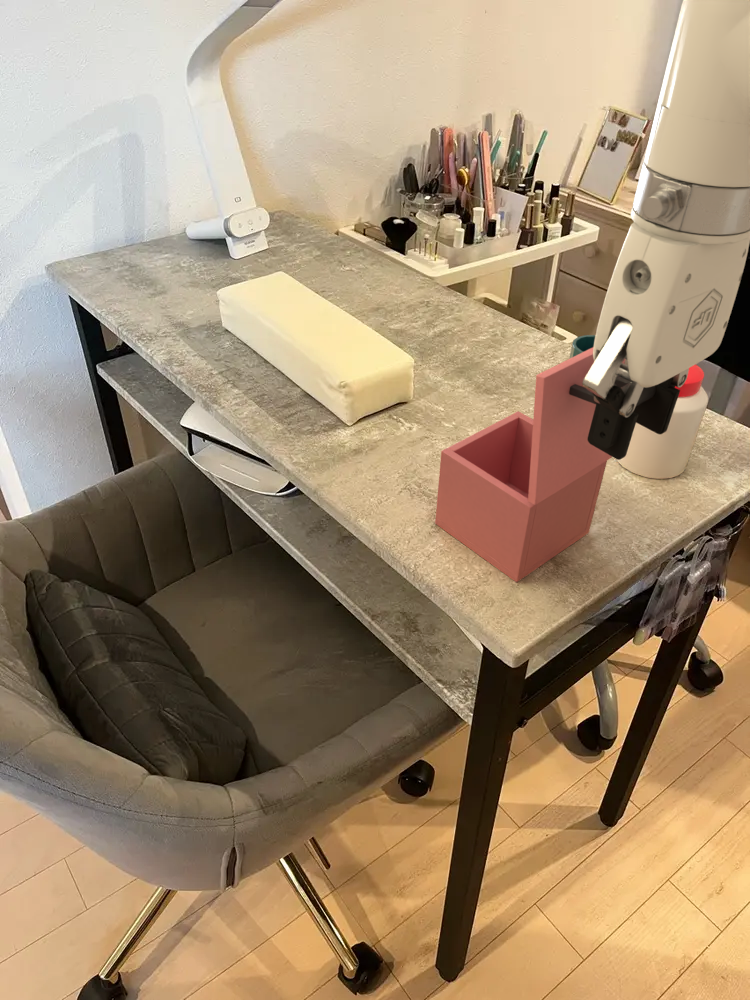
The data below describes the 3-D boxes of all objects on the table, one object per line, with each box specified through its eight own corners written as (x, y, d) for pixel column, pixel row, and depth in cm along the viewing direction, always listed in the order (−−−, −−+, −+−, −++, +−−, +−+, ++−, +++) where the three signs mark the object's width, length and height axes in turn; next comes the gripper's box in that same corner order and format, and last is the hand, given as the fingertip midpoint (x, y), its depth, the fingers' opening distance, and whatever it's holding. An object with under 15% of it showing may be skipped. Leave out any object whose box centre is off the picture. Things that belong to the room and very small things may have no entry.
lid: (535, 374, 57) (598, 398, 54) (620, 333, 63) (682, 352, 59) (527, 501, 64) (583, 530, 60) (604, 454, 69) (660, 477, 65)
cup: (610, 386, 96) (621, 339, 92) (605, 407, 92) (616, 359, 88) (566, 378, 98) (576, 332, 94) (560, 399, 94) (569, 351, 90)
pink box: (434, 523, 75) (441, 450, 70) (507, 481, 81) (518, 410, 75) (516, 582, 69) (530, 507, 64) (588, 533, 75) (607, 459, 69)
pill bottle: (600, 456, 85) (621, 367, 78) (638, 430, 89) (662, 344, 82) (662, 488, 80) (690, 398, 73) (700, 459, 84) (730, 371, 77)
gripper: (673, 249, 42) (599, 505, 53) (818, 190, 50) (727, 422, 62) (564, 209, 46) (517, 454, 58) (715, 161, 55) (648, 383, 66)
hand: (627, 435), depth 60 cm, fingers closed on lid, 4 cm apart
